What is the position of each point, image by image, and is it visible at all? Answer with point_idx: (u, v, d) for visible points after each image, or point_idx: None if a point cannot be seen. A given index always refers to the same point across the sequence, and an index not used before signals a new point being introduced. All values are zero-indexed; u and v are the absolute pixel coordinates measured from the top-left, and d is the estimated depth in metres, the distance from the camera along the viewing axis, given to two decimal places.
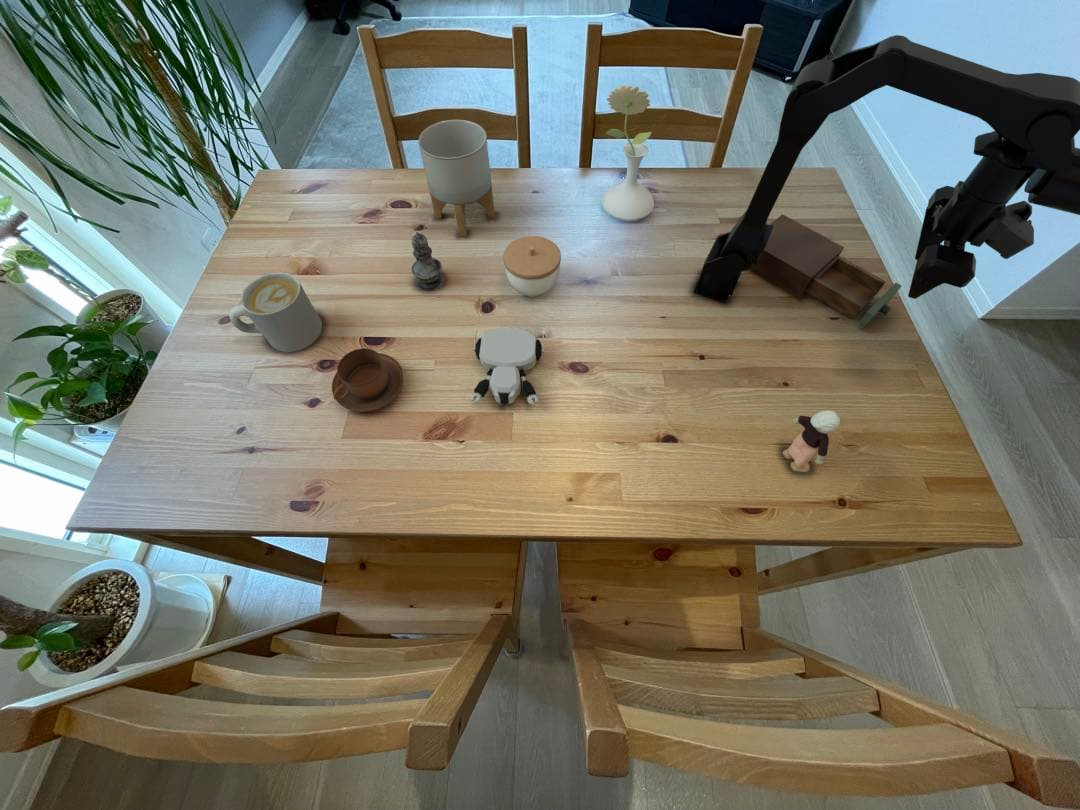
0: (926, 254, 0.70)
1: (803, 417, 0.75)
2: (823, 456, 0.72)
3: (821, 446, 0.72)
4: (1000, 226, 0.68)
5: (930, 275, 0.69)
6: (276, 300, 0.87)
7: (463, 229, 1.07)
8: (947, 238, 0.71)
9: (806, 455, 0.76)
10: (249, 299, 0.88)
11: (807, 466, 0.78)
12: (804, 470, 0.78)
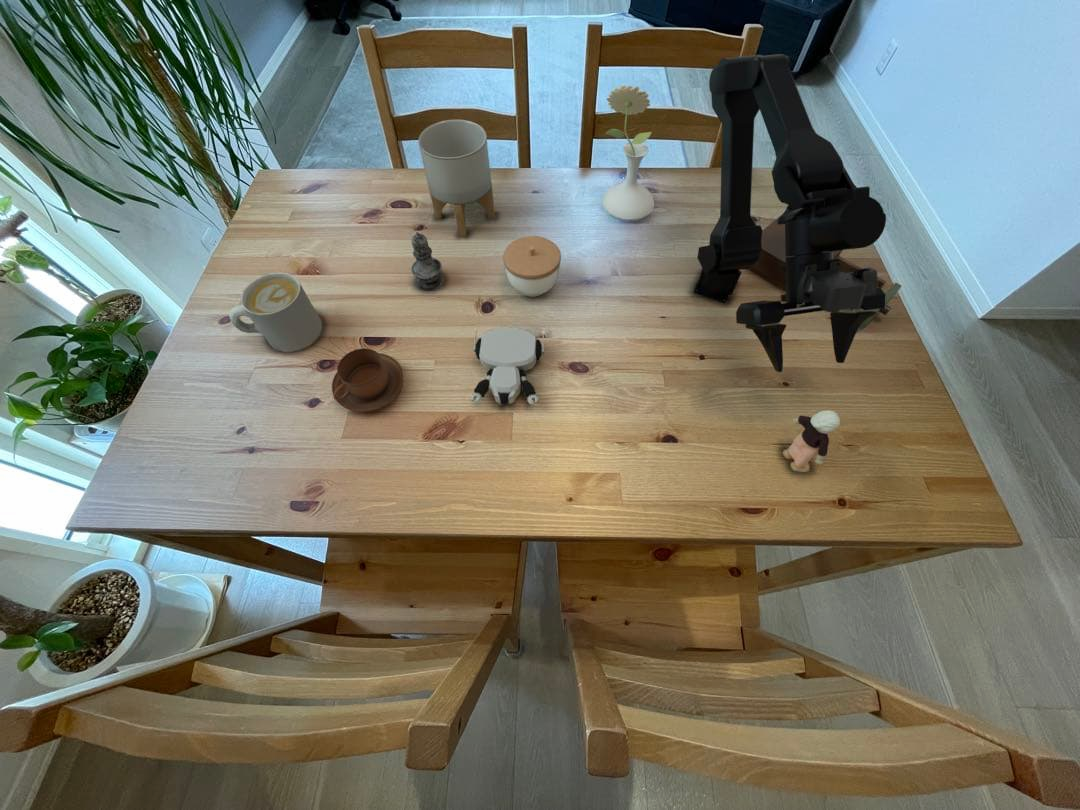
0: None
1: (803, 417, 0.75)
2: (823, 456, 0.72)
3: (821, 446, 0.72)
4: (810, 278, 0.66)
5: (739, 320, 0.72)
6: (276, 300, 0.87)
7: (463, 229, 1.07)
8: (787, 303, 0.71)
9: (806, 455, 0.76)
10: (249, 299, 0.88)
11: (807, 466, 0.78)
12: (804, 470, 0.78)
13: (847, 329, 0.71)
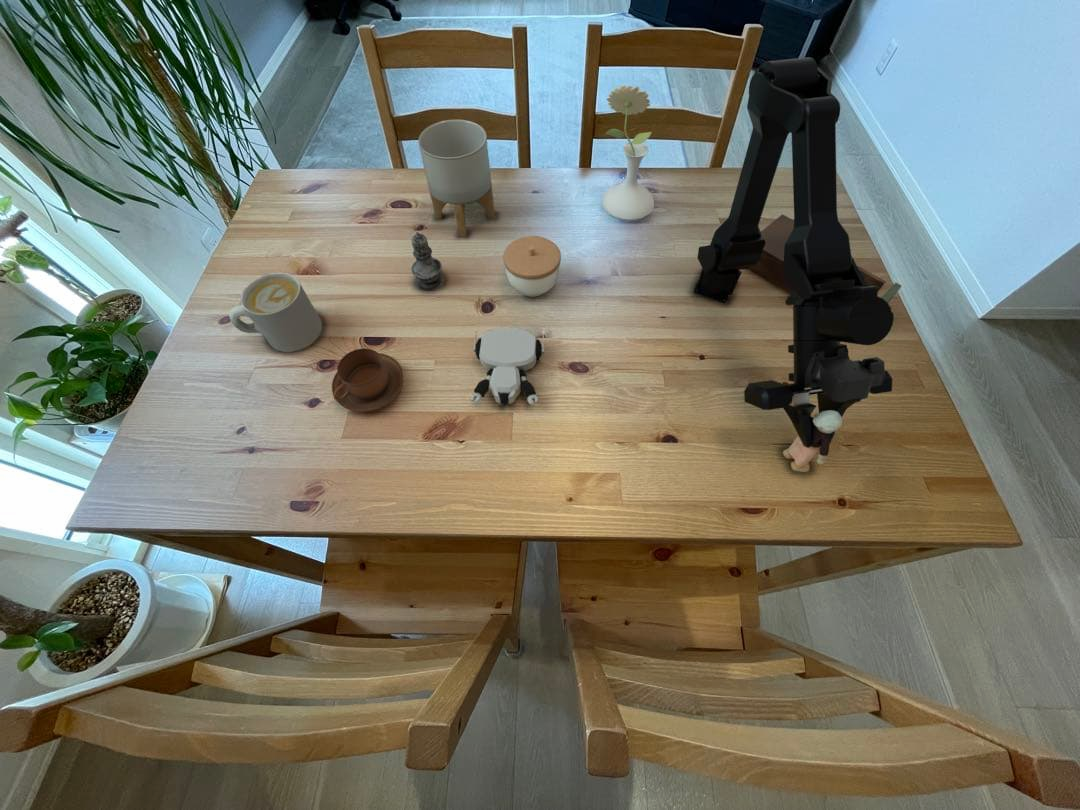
0: None
1: None
2: (824, 456, 0.72)
3: (823, 446, 0.72)
4: (818, 365, 0.67)
5: (747, 399, 0.73)
6: (276, 300, 0.87)
7: (463, 229, 1.07)
8: (794, 383, 0.72)
9: (807, 455, 0.76)
10: (249, 299, 0.88)
11: (807, 466, 0.78)
12: (804, 470, 0.78)
13: None
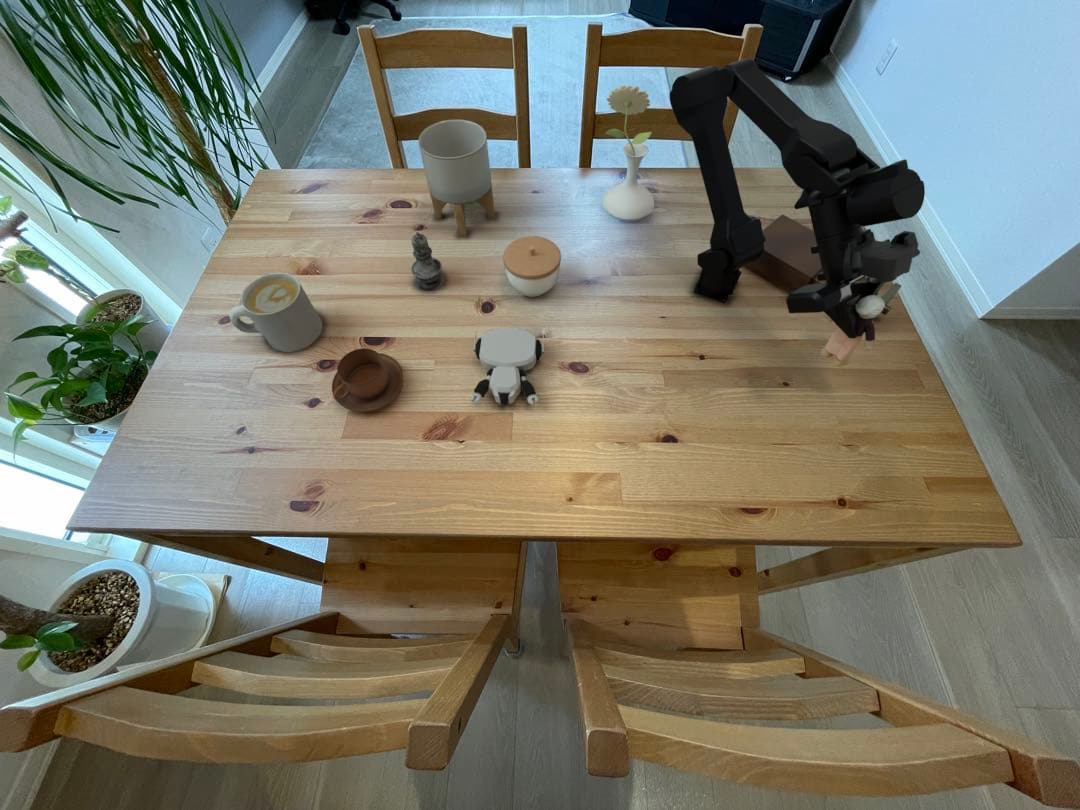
0: None
1: None
2: (872, 340, 0.75)
3: (869, 331, 0.74)
4: (855, 254, 0.69)
5: (793, 309, 0.73)
6: (276, 300, 0.87)
7: (463, 229, 1.07)
8: (828, 281, 0.73)
9: (851, 347, 0.78)
10: (249, 299, 0.88)
11: (848, 358, 0.81)
12: (847, 362, 0.81)
13: None
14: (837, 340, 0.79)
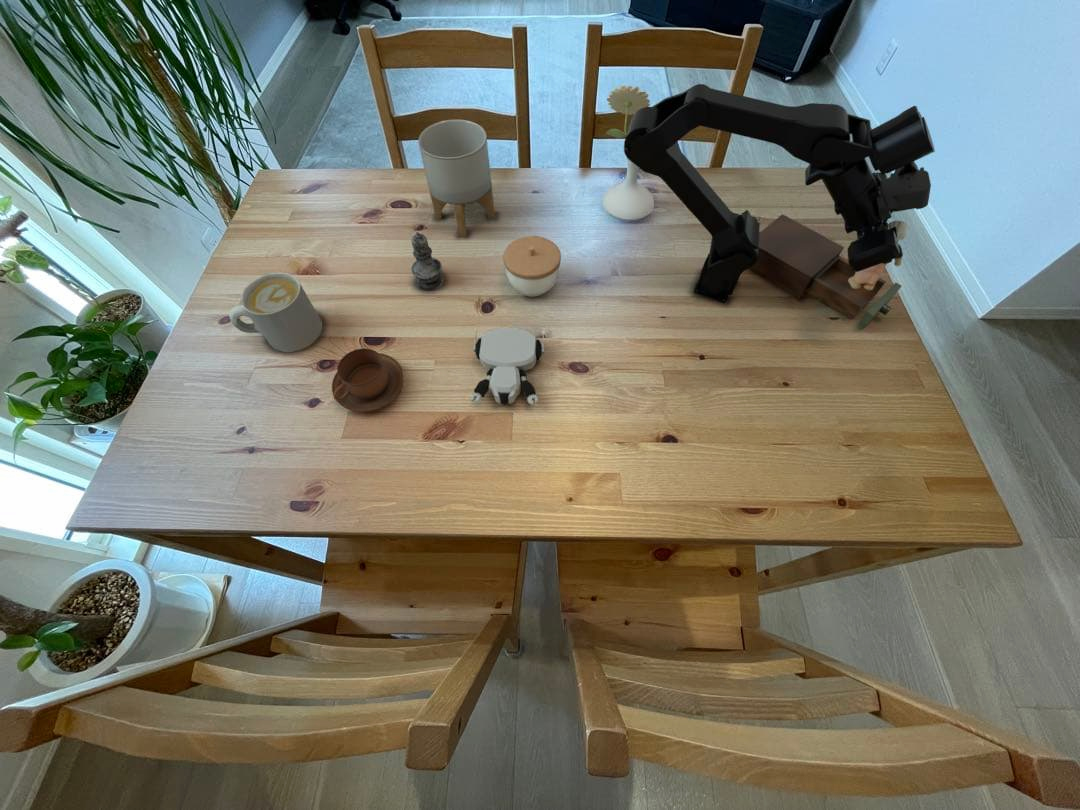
0: (848, 255, 0.79)
1: None
2: None
3: (899, 250, 0.83)
4: (887, 197, 0.75)
5: (863, 267, 0.77)
6: (276, 300, 0.87)
7: (463, 229, 1.07)
8: (862, 229, 0.79)
9: (882, 269, 0.86)
10: (249, 299, 0.88)
11: None
12: None
13: None
14: (867, 270, 0.87)
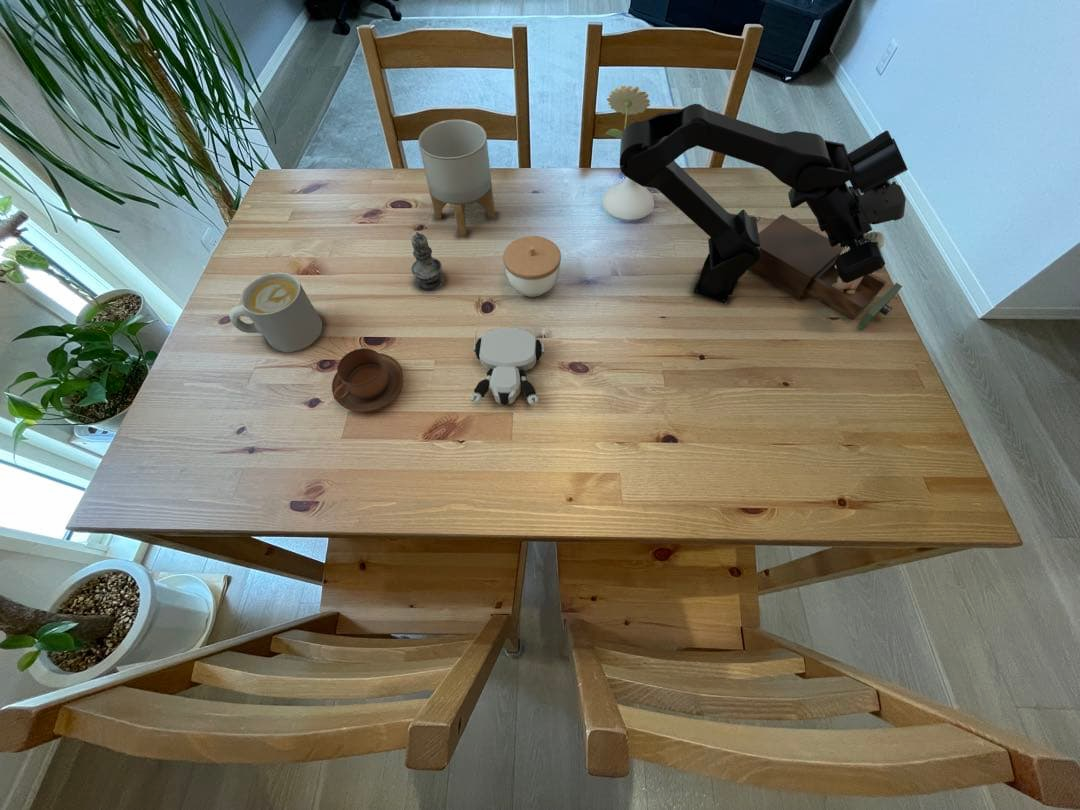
0: (837, 268, 0.84)
1: None
2: None
3: None
4: (867, 213, 0.80)
5: (852, 278, 0.82)
6: (276, 300, 0.87)
7: (463, 229, 1.07)
8: (845, 242, 0.84)
9: None
10: (249, 299, 0.88)
11: None
12: None
13: None
14: None
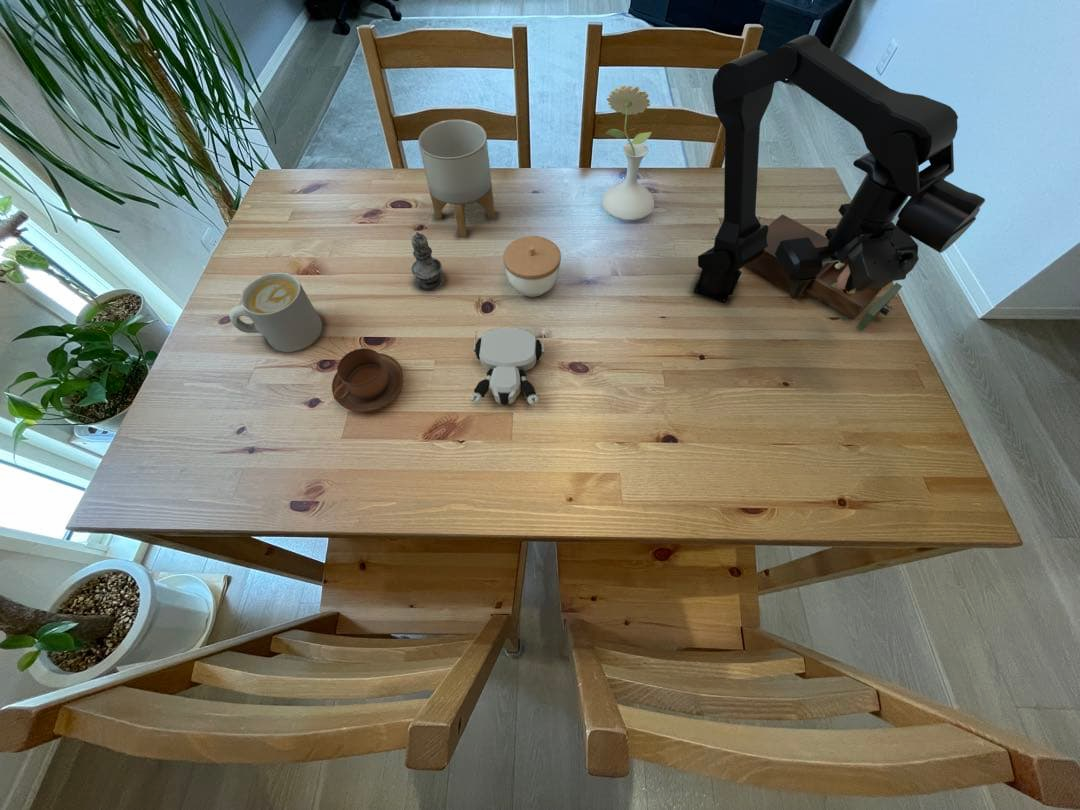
0: None
1: None
2: None
3: None
4: (859, 247, 0.68)
5: (778, 255, 0.74)
6: (276, 300, 0.87)
7: (463, 229, 1.07)
8: (828, 244, 0.73)
9: None
10: (249, 299, 0.88)
11: None
12: None
13: None
14: None
